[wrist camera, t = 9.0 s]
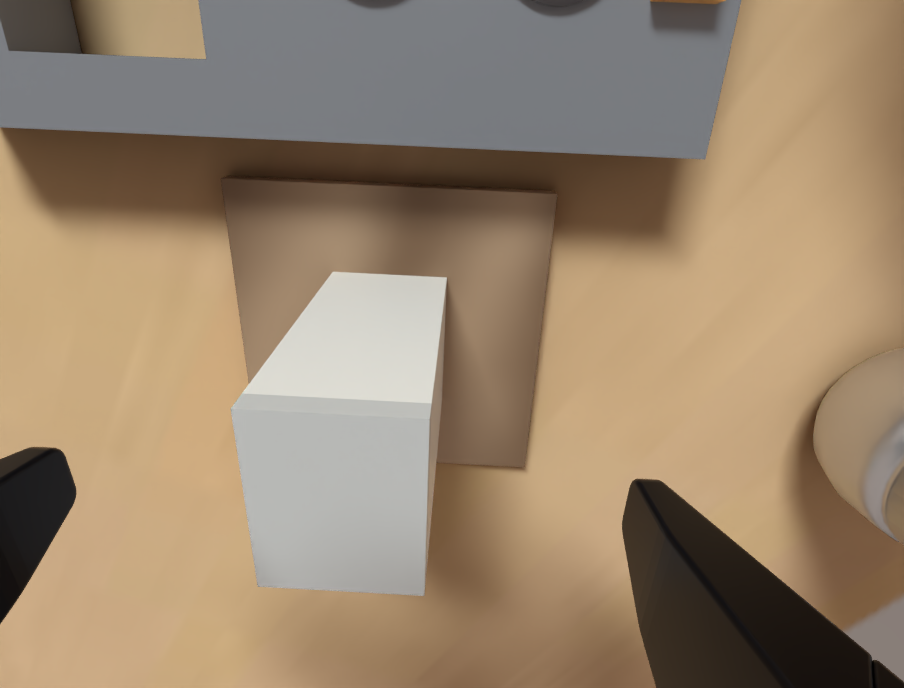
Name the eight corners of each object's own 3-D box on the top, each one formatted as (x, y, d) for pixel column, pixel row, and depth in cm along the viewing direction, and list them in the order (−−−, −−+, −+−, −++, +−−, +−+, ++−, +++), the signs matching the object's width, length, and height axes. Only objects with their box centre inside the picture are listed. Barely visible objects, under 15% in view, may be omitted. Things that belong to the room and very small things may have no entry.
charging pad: (554, 190, 18) (557, 193, 18) (523, 458, 23) (524, 467, 22) (228, 175, 18) (220, 178, 18) (263, 444, 23) (258, 453, 23)
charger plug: (446, 277, 19) (429, 419, 11) (441, 403, 21) (424, 600, 13) (332, 271, 19) (230, 408, 11) (339, 398, 21) (257, 591, 13)
